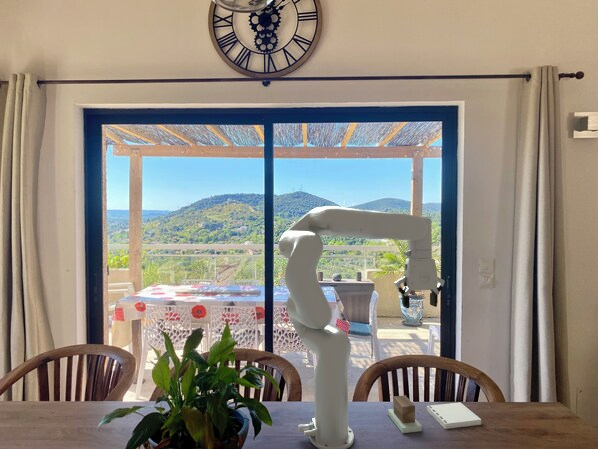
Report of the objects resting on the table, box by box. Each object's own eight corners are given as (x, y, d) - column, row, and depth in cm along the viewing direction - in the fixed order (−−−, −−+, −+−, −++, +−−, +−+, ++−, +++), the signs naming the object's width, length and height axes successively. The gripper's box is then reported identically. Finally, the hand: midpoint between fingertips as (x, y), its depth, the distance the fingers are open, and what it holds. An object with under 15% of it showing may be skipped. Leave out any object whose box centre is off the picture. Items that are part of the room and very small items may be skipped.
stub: (402, 433, 98) (402, 410, 98) (387, 414, 108) (387, 393, 108) (421, 430, 99) (421, 408, 99) (405, 412, 109) (405, 391, 109)
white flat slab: (444, 428, 100) (444, 423, 100) (426, 410, 110) (426, 405, 110) (481, 424, 102) (481, 419, 102) (460, 406, 112) (460, 401, 112)
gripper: (400, 256, 107) (400, 310, 107) (450, 255, 110) (450, 308, 110) (389, 254, 114) (390, 305, 114) (437, 253, 117) (437, 302, 117)
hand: (419, 306), depth 112 cm, fingers open, 9 cm apart
